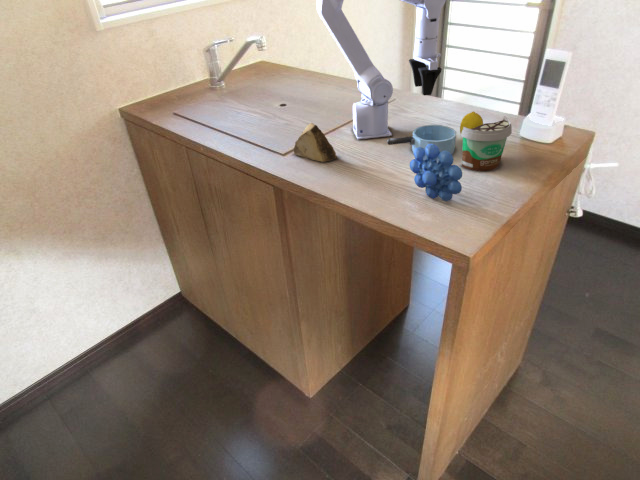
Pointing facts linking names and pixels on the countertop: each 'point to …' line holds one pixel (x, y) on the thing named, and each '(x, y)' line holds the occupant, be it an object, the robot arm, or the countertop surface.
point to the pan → (435, 137)
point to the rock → (314, 145)
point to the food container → (485, 145)
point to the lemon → (471, 121)
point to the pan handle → (401, 140)
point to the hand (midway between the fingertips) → (422, 90)
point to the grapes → (436, 172)
